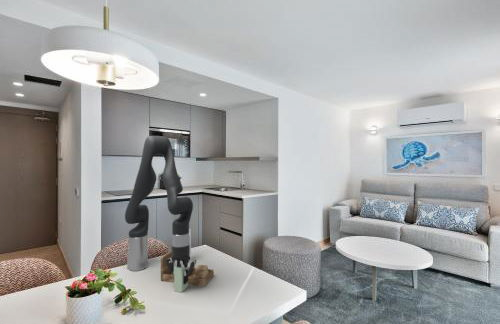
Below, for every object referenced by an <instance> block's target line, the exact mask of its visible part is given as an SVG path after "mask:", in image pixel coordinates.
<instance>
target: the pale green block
mask: <svg viewBox="0 0 500 324" xmlns="http://www.w3.org/2000/svg"><path fill="white" fill-rule="evenodd" d="M185 267H186V266H185ZM183 276H184V274H183V268H181V267H175V268H174V283H173V284H174V285H173V287H174V292H175V293H176V292H178V293H182V292H184V291H185V289H187V288H188V287H189V286H188V283H186V284H183Z"/></svg>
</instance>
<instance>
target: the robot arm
mask: <svg viewBox="0 0 500 324" xmlns="http://www.w3.org/2000/svg"><path fill="white" fill-rule="evenodd" d="M154 156H163V158H164V162H165V163H164V168H163V172H162V182H163V185H164V189H165V191H166V198H167V209H168V210H167V211H168V212H169V213H170V214H171V215H173V216H177V215H178V216H179V217H177V218H175V219H174V220H173V221H172V226H171V227H172V236H171V250H172V258H168V259H167V260H166V263H167V266H168V269H169V272H170V273H173V274H174V268H175V267H181V268H183V274H184V276H183V284H186V283H187V282H188V275H190V274H191V273H192V272H193V269H194V268H195V265H196V264H197V260H196V259H194V260H193V259H192V257H191V258H190V256H189V255H190V236H189V228H190V221H191V217H192V215H193V210H194V205H193V204H194V203H193V201H192V198H191V197H188V196H183V197H178V195H180V194H181V193H182V192H183V187H184V186H183V185H182V182H181V179H180V177H179V174H178V170H177V167H176V162H175V156H174V151H173V146H172V143H171V141H170V139H169V137H167V136H162V135H161V136H160V135H149V136H146V138H145V140H144V143H143V148H142V154H141V160H140V164H139V168H138V173H137V175H136V178H135V182H134V185H133V191H132V193H131V196H130V199H129V201H128V203H127V207H126V209H125V212H124V221H125V222H126V223H127V224H130V225H135V224H137V225H136V226H135V227H133V228H132V229H130V230H129V231H128V250H126V259H127V260H126V261H127V263H126V265H127V268H126V269H128V270H129V271H131V272H138V271H143V270H145V269H147V268H148V267H147V266H149V263H148V262H149V261H148V259H149V257H148V256H149V255H148V254H149V252H148V250H149V249H148V248H149V247H148V243H149V241H148V235H149V234H148V231H149V220H150V217H149V216H150V210H149V207H148V206H147V205H146V204H142V202H143V201H145V199H147V197H148V196H149V195H151V193H152V192H153V190H154V188H155V187H156V186H155V185H156V183H157V174H156V172H155V170H154V168H153V164H152V163H153V159H154ZM173 263H174V265H173ZM185 266H186V267H185ZM146 267H147V268H146ZM188 267H189V270H188ZM144 268H145V269H144ZM142 269H143V270H142Z"/></svg>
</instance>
